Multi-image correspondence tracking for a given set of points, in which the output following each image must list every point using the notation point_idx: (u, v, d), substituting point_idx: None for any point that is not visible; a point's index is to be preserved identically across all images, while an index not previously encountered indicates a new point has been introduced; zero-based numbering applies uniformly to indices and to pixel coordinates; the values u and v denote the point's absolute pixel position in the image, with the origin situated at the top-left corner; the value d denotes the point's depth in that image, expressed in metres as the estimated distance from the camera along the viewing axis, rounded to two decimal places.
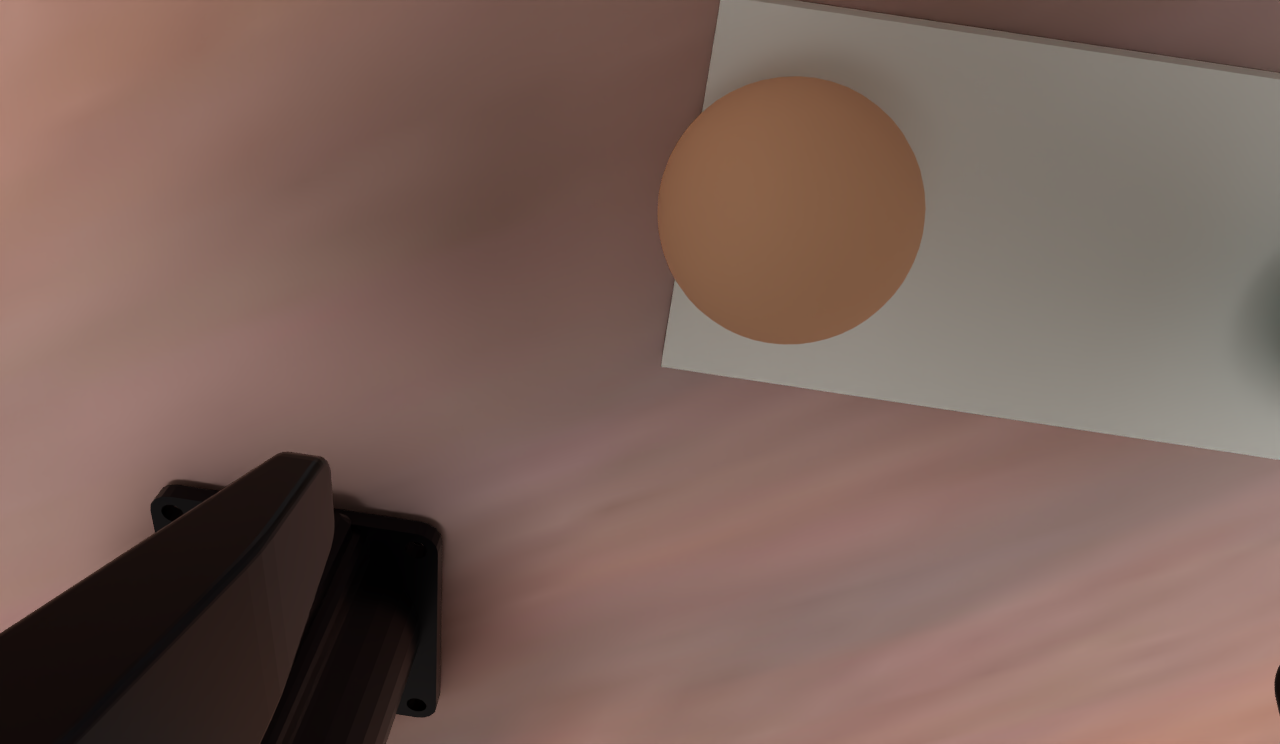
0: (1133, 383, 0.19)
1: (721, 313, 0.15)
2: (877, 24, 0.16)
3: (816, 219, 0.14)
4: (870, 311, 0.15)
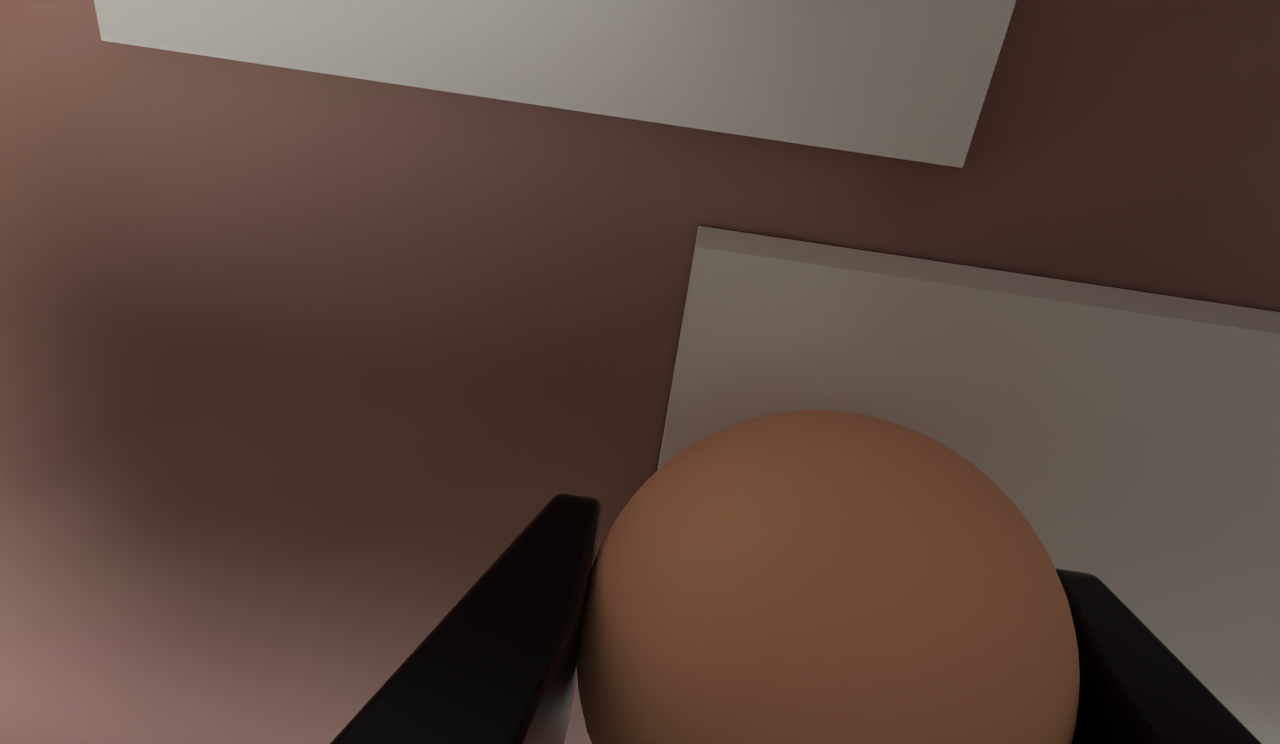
0: None
1: None
2: (978, 295, 0.09)
3: None
4: None
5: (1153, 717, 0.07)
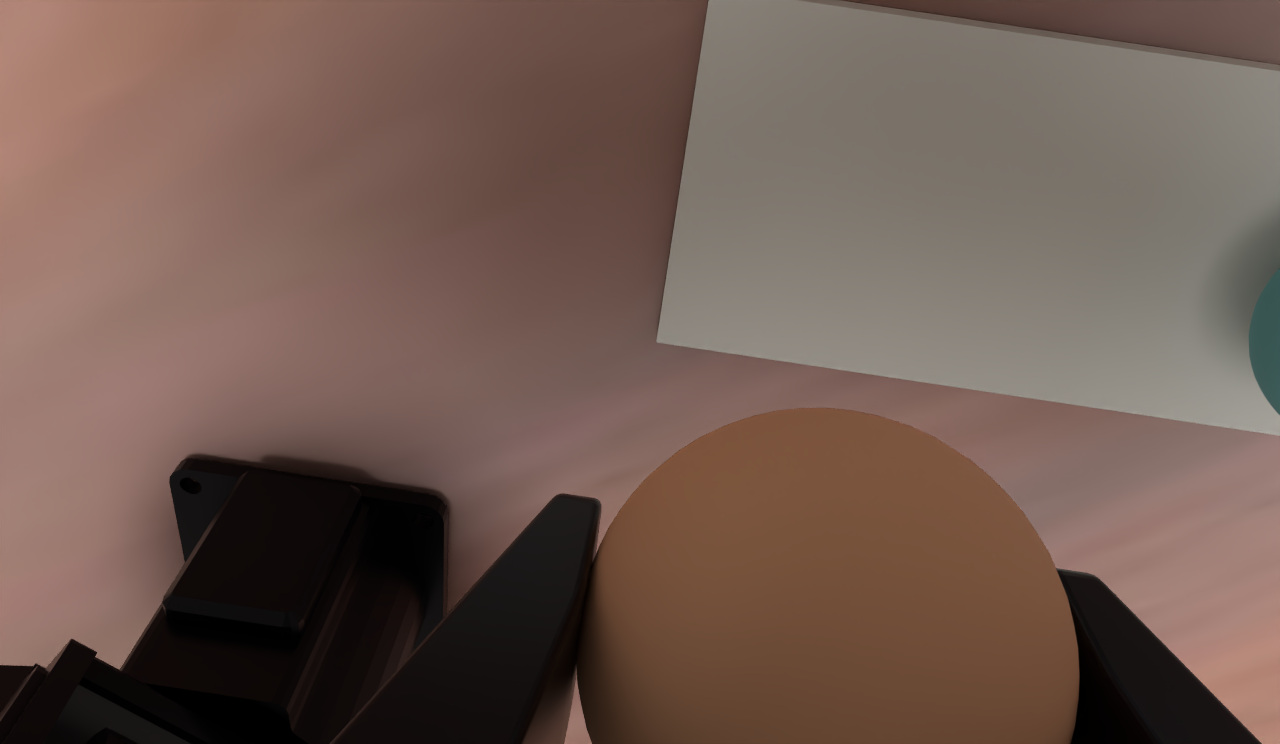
0: (1106, 357, 0.20)
1: None
2: (858, 14, 0.17)
3: None
4: None
5: (1153, 717, 0.07)
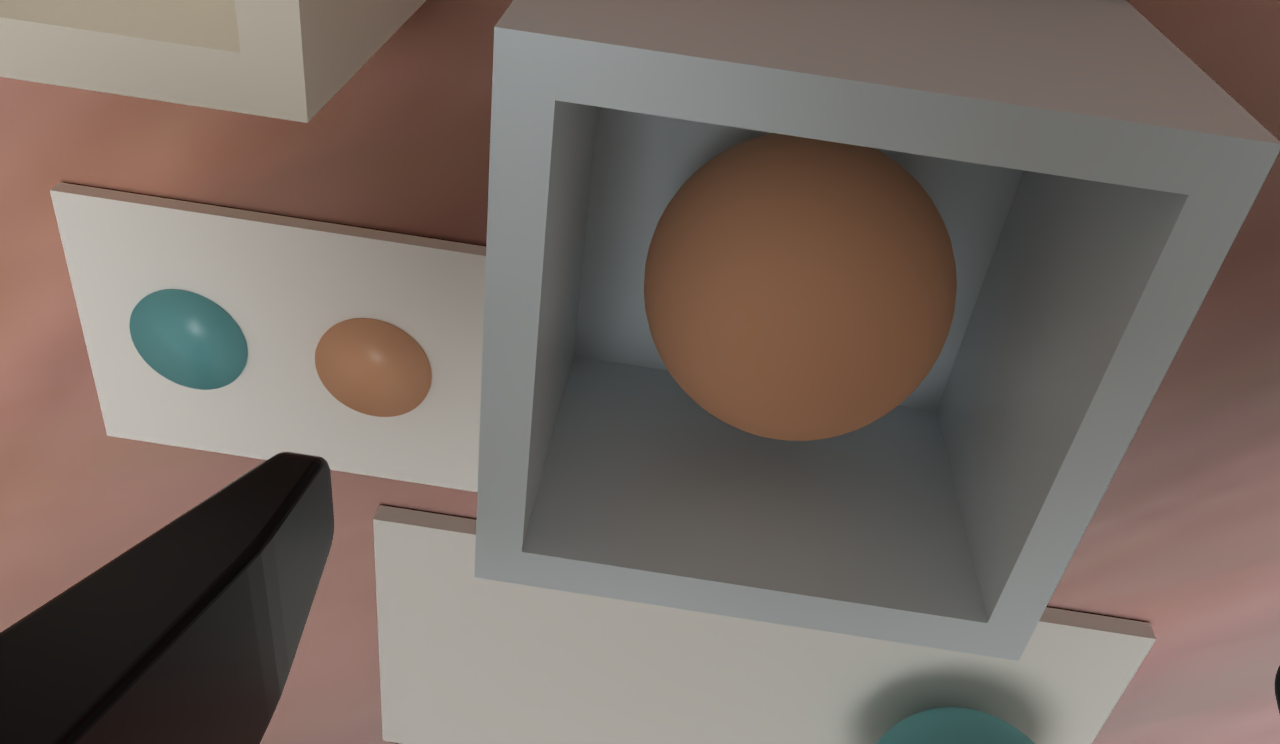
0: None
1: (717, 409, 0.13)
2: None
3: (829, 308, 0.11)
4: (892, 406, 0.13)
5: None
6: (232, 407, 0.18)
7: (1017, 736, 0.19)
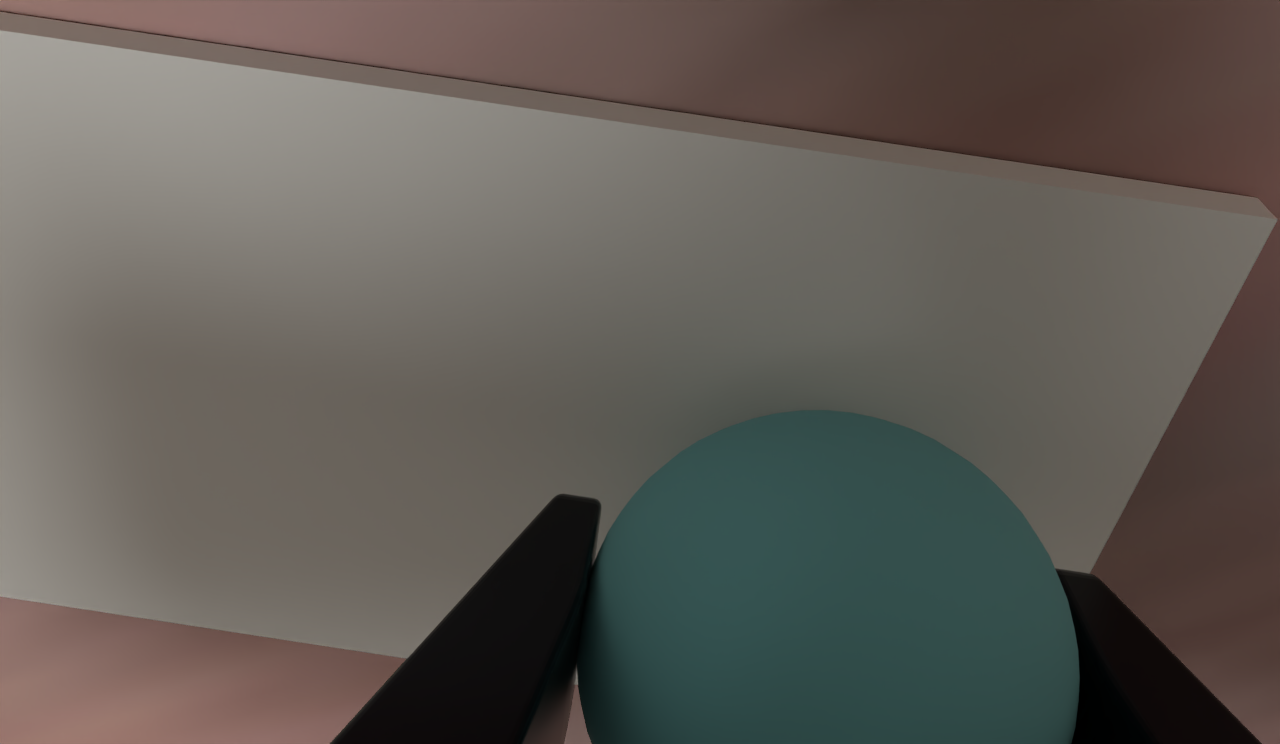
0: None
1: None
2: None
3: None
4: None
5: (1153, 717, 0.07)
6: None
7: (944, 449, 0.08)
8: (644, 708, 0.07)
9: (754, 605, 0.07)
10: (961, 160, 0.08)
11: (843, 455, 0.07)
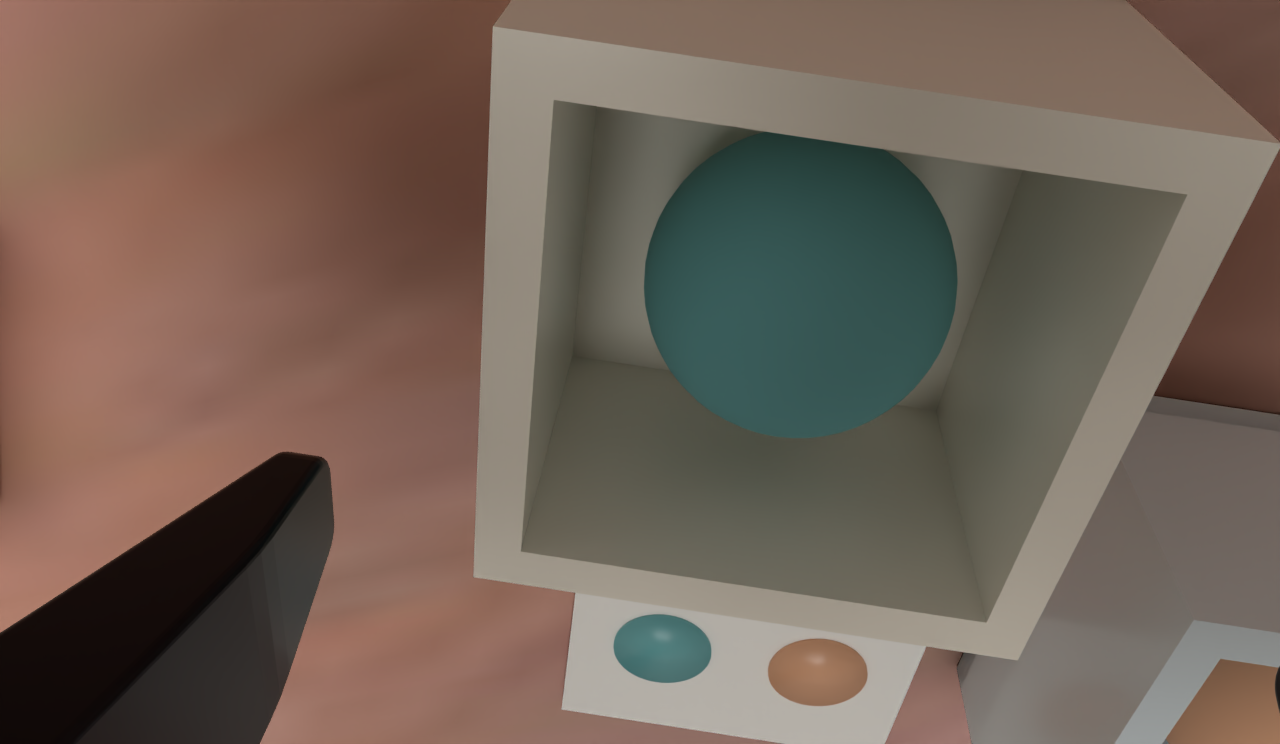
0: None
1: None
2: None
3: None
4: None
5: None
6: (681, 694, 0.22)
7: None
8: (693, 276, 0.12)
9: (757, 204, 0.12)
10: None
11: None
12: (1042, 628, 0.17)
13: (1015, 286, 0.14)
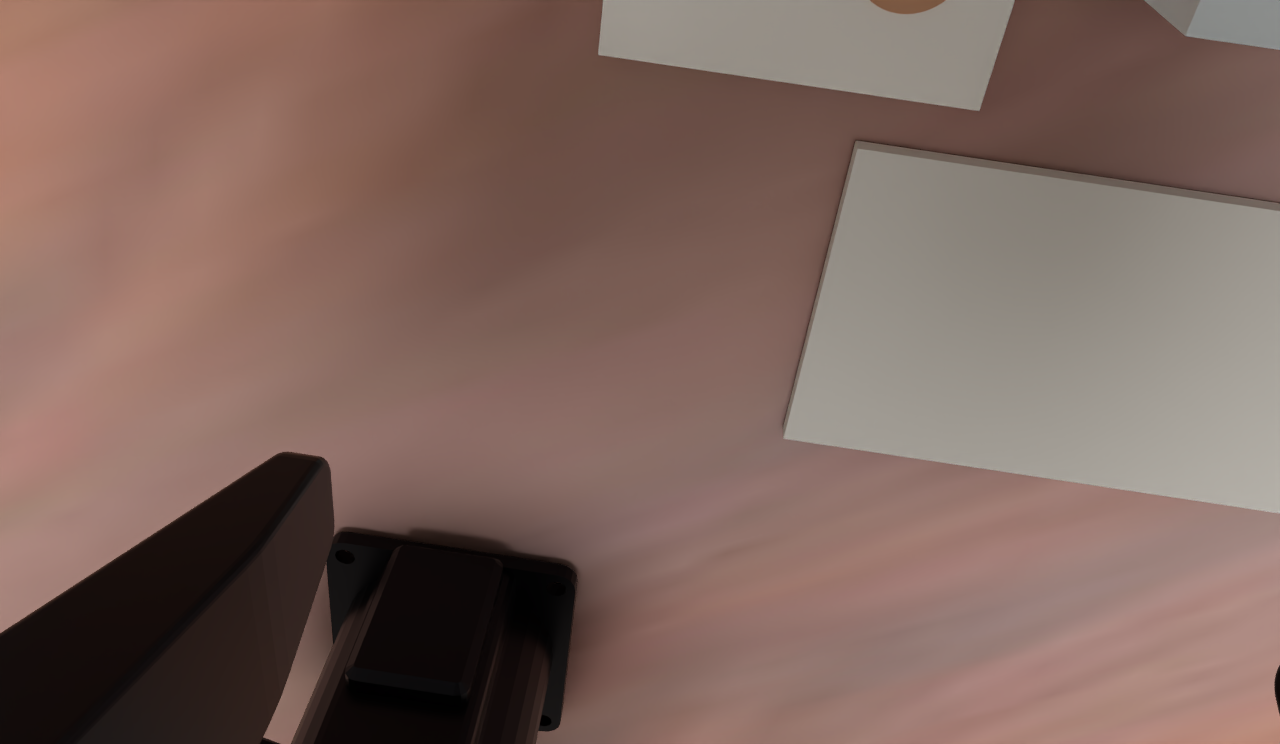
0: (1190, 455, 0.22)
1: None
2: (986, 171, 0.19)
3: None
4: None
5: None
6: (744, 11, 0.18)
7: None
8: None
9: None
10: None
11: None
12: None
13: None
